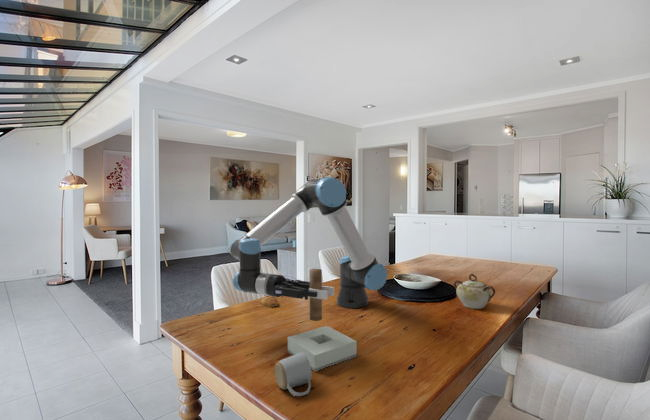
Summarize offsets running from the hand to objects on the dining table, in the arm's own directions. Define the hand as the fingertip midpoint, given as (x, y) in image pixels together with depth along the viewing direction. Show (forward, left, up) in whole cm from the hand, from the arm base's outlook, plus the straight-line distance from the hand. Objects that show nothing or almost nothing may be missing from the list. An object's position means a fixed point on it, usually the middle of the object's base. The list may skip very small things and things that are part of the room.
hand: (330, 293), depth 105 cm
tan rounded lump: (-59, +8, -21) cm, 63 cm away
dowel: (-5, -2, -9) cm, 10 cm away
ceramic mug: (+9, -18, -20) cm, 28 cm away
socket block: (-3, -2, -20) cm, 20 cm away
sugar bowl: (0, +82, -20) cm, 85 cm away
